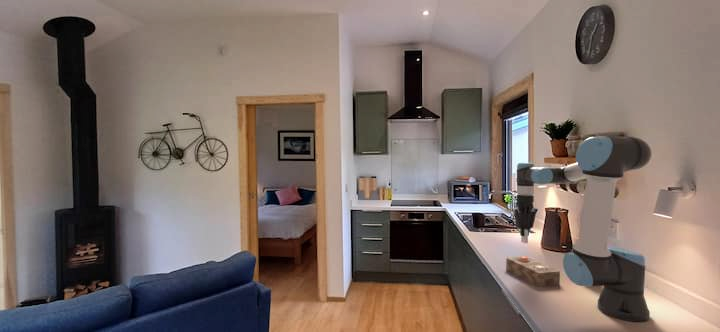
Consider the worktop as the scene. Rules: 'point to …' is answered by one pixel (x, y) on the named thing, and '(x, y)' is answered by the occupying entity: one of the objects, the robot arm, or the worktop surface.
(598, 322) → the worktop surface
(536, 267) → the white oval piece
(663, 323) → the worktop surface
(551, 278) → the walnut plug block
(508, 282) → the worktop surface
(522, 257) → the terracotta plug
